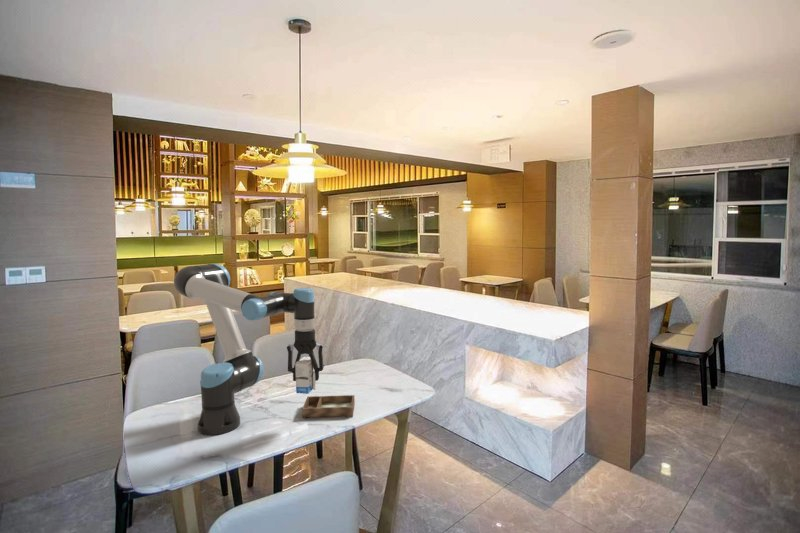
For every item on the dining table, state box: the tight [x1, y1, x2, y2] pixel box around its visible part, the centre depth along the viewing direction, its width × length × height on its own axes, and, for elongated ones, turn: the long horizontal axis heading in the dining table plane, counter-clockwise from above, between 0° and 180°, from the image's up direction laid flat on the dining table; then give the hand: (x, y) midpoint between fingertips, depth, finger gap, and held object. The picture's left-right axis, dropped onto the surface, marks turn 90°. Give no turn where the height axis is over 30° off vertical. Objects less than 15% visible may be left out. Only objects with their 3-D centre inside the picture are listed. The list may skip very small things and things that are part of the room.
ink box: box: [294, 356, 315, 395], centre depth 167 cm, size 9×5×12 cm, turn 169°
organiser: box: [301, 394, 356, 419], centre depth 182 cm, size 20×13×4 cm, turn 93°
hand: (306, 388), depth 168 cm, fingers closed on ink box, 6 cm apart
